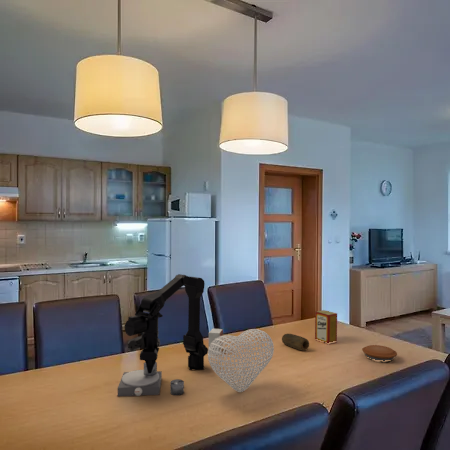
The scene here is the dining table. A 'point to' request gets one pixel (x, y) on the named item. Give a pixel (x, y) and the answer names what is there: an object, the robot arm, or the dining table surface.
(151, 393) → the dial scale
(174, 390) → the cylinder
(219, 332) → the small box
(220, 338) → the heart
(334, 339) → the baking soda box
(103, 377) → the dining table surface
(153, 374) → the cylinder
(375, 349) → the pie
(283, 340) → the stone weight
